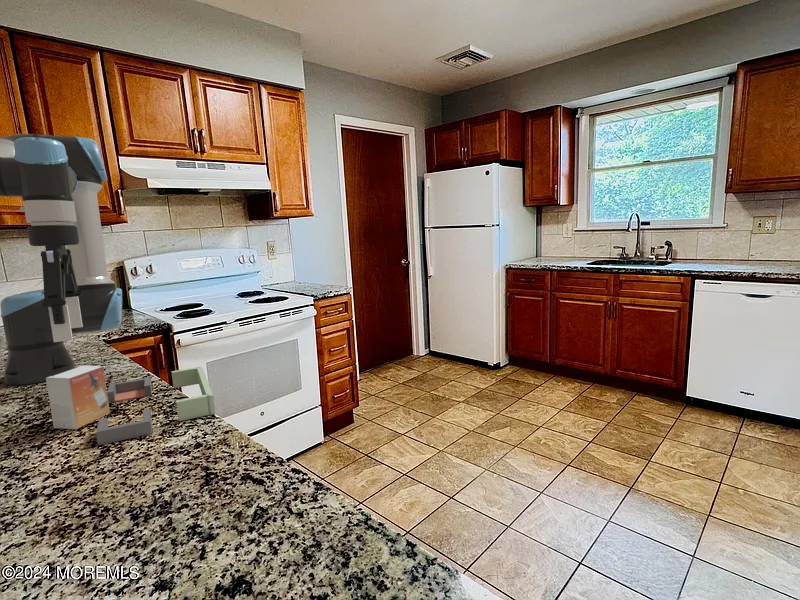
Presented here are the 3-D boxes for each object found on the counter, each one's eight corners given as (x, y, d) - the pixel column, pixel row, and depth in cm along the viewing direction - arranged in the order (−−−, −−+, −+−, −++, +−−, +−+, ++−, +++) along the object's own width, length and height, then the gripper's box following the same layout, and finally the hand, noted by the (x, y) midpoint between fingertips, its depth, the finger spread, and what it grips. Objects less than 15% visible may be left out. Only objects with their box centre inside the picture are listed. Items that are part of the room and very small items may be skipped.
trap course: (111, 394, 103) (108, 378, 103) (202, 377, 113) (200, 363, 112) (98, 445, 78) (94, 424, 77) (217, 418, 87) (215, 400, 87)
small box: (76, 430, 84) (68, 378, 83) (52, 428, 85) (44, 377, 84) (111, 413, 92) (104, 365, 90) (89, 412, 93) (81, 364, 91)
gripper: (41, 226, 91) (57, 325, 95) (7, 222, 70) (29, 350, 73) (85, 225, 95) (98, 321, 98) (65, 222, 73) (84, 344, 77)
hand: (69, 334), depth 86 cm, fingers open, 13 cm apart
